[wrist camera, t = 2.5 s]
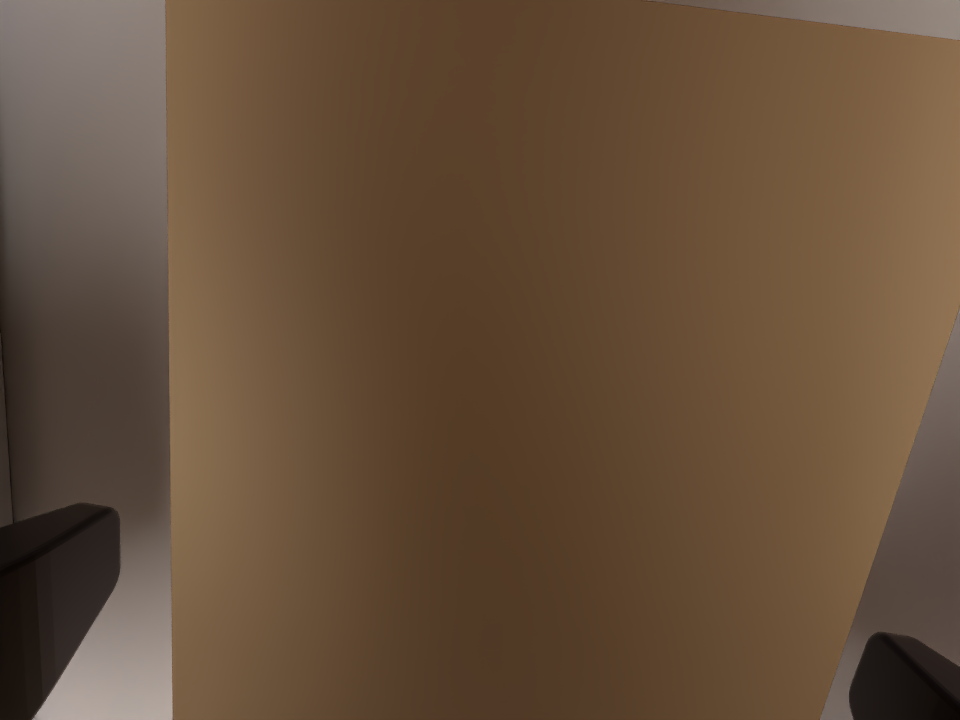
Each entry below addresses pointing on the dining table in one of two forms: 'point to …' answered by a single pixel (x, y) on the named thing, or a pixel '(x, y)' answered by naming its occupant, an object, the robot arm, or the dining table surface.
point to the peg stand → (4, 459)
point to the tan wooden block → (542, 351)
